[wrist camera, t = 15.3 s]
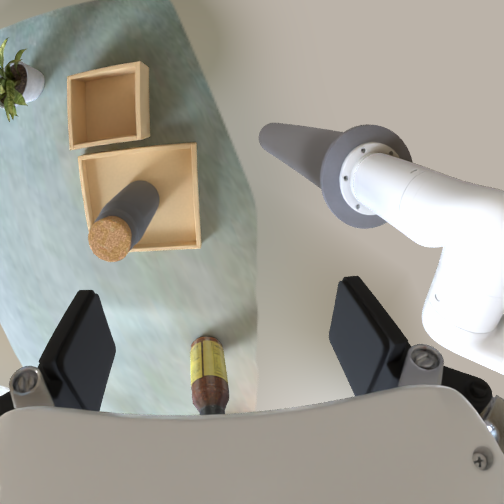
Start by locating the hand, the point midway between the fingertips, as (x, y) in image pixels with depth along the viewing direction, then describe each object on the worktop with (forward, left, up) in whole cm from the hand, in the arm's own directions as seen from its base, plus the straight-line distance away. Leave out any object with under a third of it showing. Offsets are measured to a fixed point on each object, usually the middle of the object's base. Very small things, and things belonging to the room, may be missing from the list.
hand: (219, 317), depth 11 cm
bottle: (+11, +4, -33) cm, 35 cm away
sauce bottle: (+3, +33, -33) cm, 47 cm away
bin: (+14, -10, -33) cm, 37 cm away
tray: (+11, +4, -33) cm, 35 cm away
